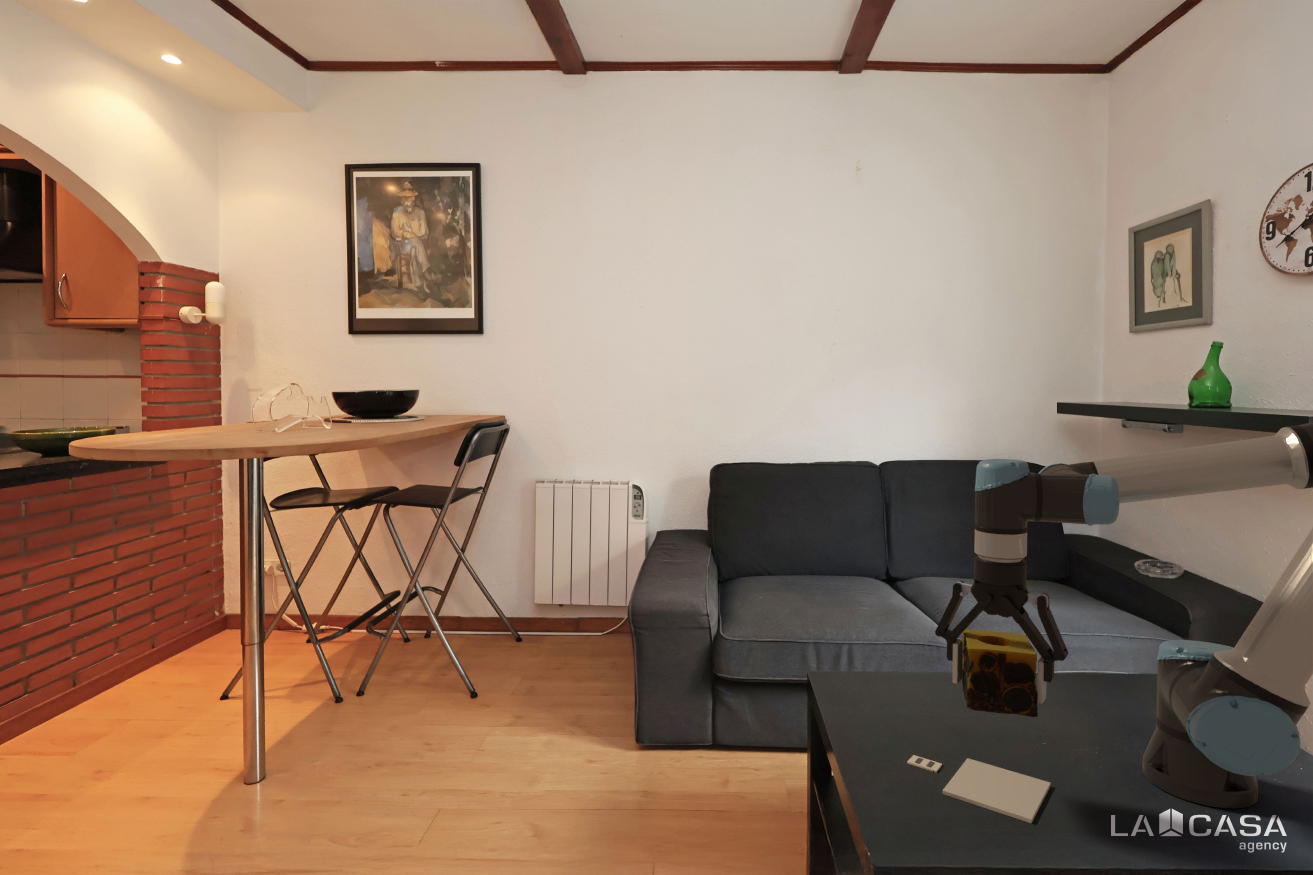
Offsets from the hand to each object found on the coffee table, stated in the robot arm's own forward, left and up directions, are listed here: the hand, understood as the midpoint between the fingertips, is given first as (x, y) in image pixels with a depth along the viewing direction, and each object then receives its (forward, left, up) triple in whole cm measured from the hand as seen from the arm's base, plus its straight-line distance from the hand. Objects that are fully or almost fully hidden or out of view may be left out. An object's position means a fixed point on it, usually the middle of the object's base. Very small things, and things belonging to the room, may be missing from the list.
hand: (997, 690), depth 117 cm
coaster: (0, 0, -17) cm, 17 cm away
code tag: (+12, -1, -17) cm, 20 cm away
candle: (0, 0, -2) cm, 2 cm away
